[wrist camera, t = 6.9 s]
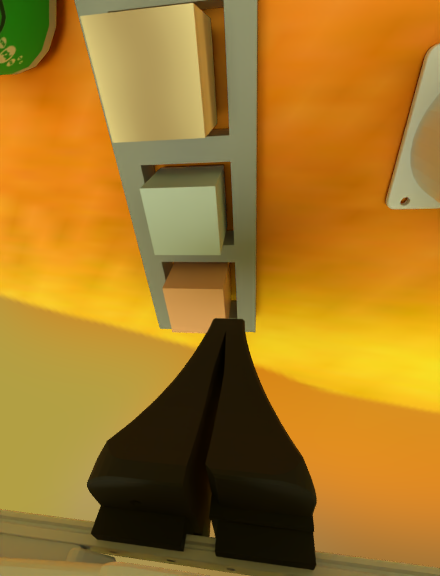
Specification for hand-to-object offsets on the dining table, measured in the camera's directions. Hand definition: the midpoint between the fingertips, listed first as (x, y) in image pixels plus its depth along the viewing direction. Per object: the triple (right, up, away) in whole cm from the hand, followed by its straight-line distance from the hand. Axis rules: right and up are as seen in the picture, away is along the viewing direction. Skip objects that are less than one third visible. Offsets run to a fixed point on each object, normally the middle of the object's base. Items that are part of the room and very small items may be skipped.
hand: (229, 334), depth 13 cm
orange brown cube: (-2, +3, +10) cm, 10 cm away
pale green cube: (-2, +8, +6) cm, 10 cm away
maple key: (-3, +12, +1) cm, 13 cm away
